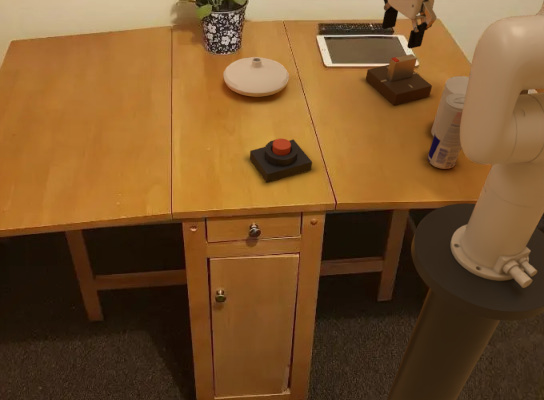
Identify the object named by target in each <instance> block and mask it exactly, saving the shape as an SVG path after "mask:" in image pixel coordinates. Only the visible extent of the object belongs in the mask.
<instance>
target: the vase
mask: <svg viewBox="0 0 544 400" xmlns="http://www.w3.org/2000/svg"><path fill="white" fill-rule="evenodd" d="M223 80H224V83H225V84H226V87H228V88H229V89H230V91H233V92H235V93H237V94H240V95H243V96H248V97H267V96H272V95H275V94H277V93H279V92H281V91H282V90H284V88H285V87H287V84H288V82H289V80H290V74H289V70H287V68H286V67H285V66H284V65H283V64H282V63H280V62H279V61H276V60H274V59H271V58H268V57H262V56H250V57H249V56H248V57H243V58H239V59H237V60H234V61H232V62H231V63H230V64H229V65H228V66H226V67H225V69H224V71H223Z"/></svg>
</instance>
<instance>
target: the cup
mask: <svg viewBox="0 0 544 400" xmlns="http://www.w3.org/2000/svg"><path fill="white" fill-rule="evenodd" d="M468 80H469V76H465V75H457V76H455V75H454V76H451V77H449V78H447V80H446V81H445V84H444V88H443V90H442V93H441V97H440V100H439V103H438V106H437V110H436V113H435V116H434V120H433V123H432V127H431V129H430V133H431V136H432V137H433V138H434V134H435V131H436V128H437V125H438V121H439V118H440V115H441V112H442V108H443V105H444V102H445V100H446V97H447V96H448V95H450V94H454V93H461V94H465V95H466V90H467V85H468Z"/></svg>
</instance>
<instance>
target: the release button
mask: <svg viewBox="0 0 544 400" xmlns="http://www.w3.org/2000/svg"><path fill="white" fill-rule="evenodd" d="M274 140H275V141H274V142H273V148H272V151H273V153H274V154H276V155H279V156H285V155H288V154H289V153H290V149H291V143H290V141H289V140H288V139H287V138H277V139H274Z"/></svg>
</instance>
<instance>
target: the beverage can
mask: <svg viewBox="0 0 544 400" xmlns="http://www.w3.org/2000/svg"><path fill="white" fill-rule="evenodd" d="M464 101H465V94H461V93H454V94H450V95H448V96H447V97H446V100H445V102H444V105H443V108H442V112H441V115H440V118H439V121H438V125H437V128H436V131H435V134H434V137H433V138H432V141H431V143H430V148H429V151H428V154H427V161H428V163H429V164H430V165H432V166H433V167H435V168H437V169H442V170H449V169H452V168H454V167H455V166H456V164H457V162H458V158H459V155H460V152H461V151H462V148H461V143H460V123H461V117H462V111H463V106H464Z"/></svg>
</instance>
